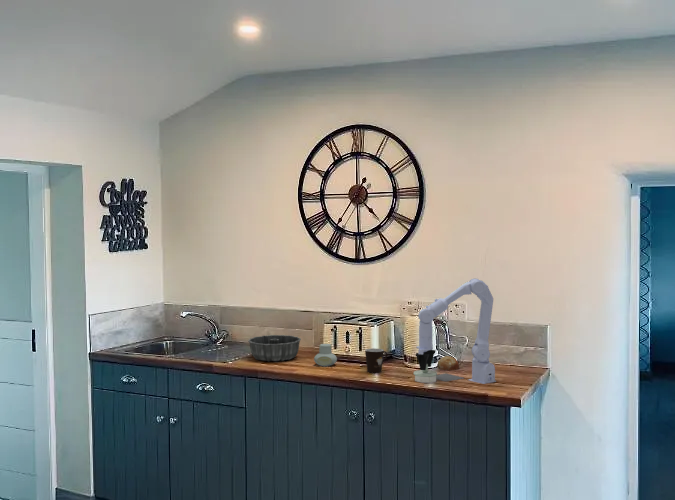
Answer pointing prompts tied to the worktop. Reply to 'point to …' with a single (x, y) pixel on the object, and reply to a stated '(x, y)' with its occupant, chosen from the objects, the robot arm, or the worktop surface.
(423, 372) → the lid
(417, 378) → the ramekin
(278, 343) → the bundt pan
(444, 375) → the mat
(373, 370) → the coffee mug
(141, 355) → the worktop surface
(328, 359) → the air freshener
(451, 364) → the bread roll
